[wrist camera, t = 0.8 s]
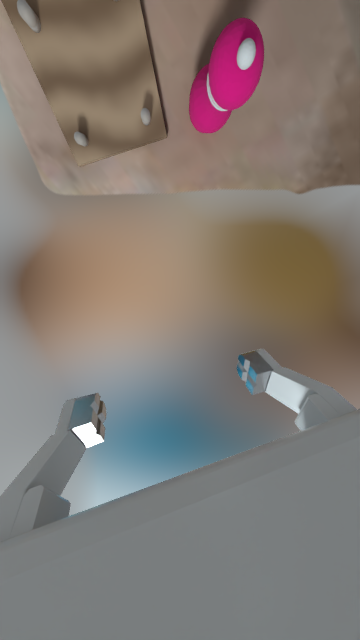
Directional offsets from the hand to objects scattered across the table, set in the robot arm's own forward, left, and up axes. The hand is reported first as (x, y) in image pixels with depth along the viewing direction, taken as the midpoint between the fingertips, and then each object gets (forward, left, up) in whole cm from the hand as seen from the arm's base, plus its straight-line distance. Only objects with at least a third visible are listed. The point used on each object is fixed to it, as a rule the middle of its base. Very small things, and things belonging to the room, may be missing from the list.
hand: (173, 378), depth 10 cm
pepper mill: (-16, +13, -43) cm, 48 cm away
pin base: (-23, -4, -43) cm, 49 cm away
